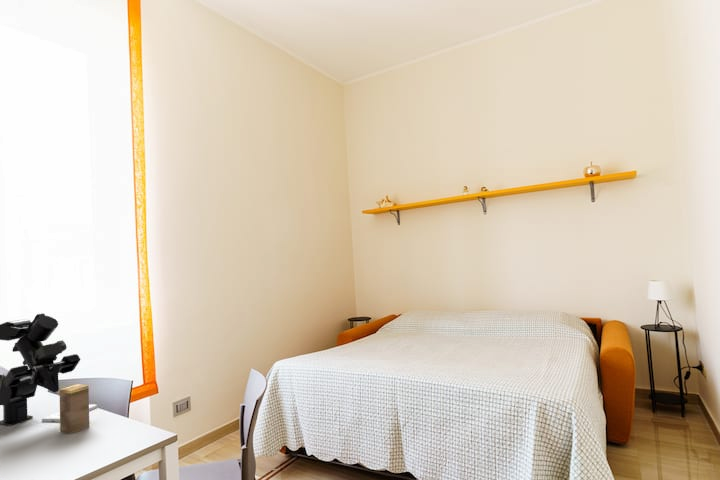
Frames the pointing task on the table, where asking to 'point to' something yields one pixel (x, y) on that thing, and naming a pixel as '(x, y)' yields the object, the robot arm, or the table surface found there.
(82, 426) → the walnut block
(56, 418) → the external hard drive
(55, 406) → the table surface
